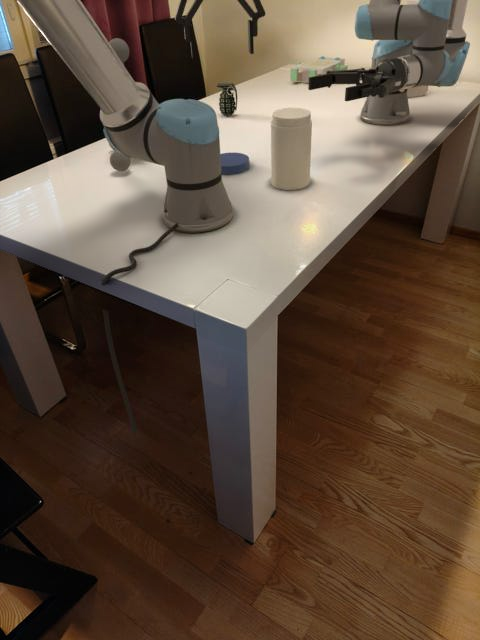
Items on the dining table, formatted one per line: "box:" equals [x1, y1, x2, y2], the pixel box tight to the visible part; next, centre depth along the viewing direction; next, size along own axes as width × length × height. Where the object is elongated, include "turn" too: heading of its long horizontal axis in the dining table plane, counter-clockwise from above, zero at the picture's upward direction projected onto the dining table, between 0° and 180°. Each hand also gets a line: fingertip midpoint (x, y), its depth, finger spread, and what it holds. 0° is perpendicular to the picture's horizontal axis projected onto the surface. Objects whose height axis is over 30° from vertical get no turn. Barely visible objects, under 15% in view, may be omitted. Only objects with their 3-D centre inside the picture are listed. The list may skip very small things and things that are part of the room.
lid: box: [220, 152, 250, 175], centre depth 130 cm, size 10×10×2 cm
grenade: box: [215, 82, 238, 117], centre depth 166 cm, size 7×6×10 cm
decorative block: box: [290, 56, 349, 84], centre depth 205 cm, size 26×6×20 cm
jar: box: [270, 107, 313, 191], centre depth 115 cm, size 9×9×16 cm
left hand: (222, 55), depth 114 cm, fingers open, 13 cm apart
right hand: (326, 89), depth 112 cm, fingers open, 13 cm apart
